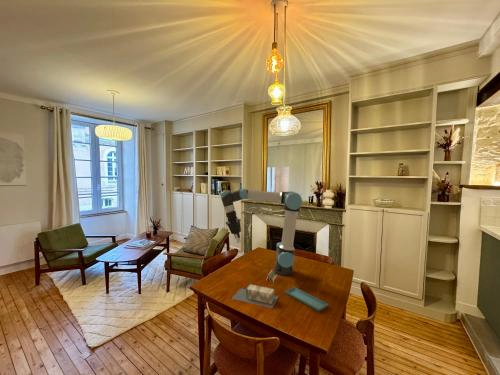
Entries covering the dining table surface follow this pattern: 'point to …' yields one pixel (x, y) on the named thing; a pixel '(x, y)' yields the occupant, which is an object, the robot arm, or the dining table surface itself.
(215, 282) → the dining table surface
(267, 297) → the birch block
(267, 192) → the robot arm
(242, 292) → the rubber mat
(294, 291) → the shallow long dish
